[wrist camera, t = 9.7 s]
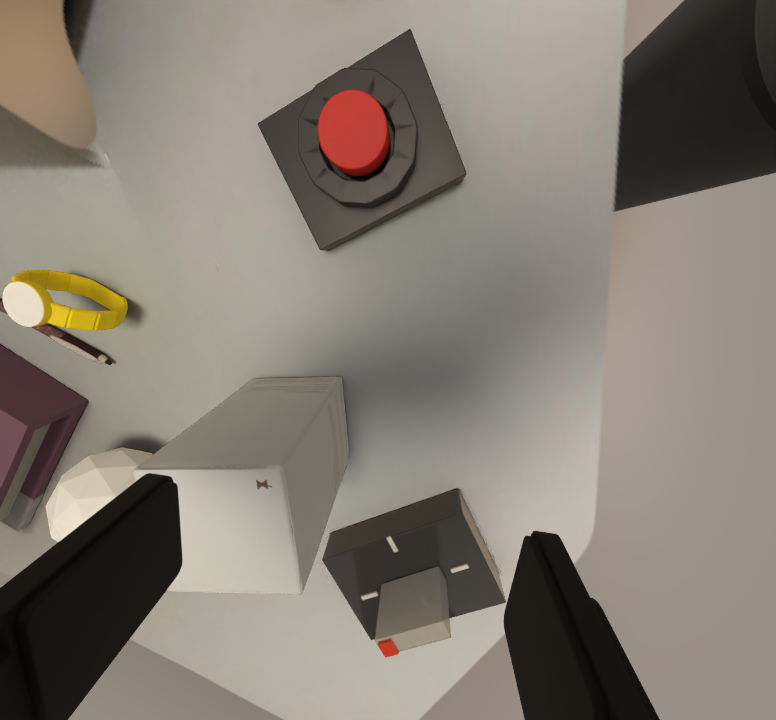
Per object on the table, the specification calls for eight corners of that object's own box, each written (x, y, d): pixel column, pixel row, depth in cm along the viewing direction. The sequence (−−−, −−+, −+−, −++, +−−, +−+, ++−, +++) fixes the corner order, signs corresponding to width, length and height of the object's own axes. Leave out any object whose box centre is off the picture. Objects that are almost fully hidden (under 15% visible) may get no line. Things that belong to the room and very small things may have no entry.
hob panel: (457, 486, 29) (462, 513, 26) (498, 572, 31) (507, 605, 28) (329, 531, 32) (320, 560, 29) (375, 608, 34) (371, 643, 31)
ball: (160, 436, 34) (99, 418, 26) (209, 502, 32) (158, 503, 24) (82, 496, 32) (-8, 495, 24) (129, 571, 30) (47, 595, 22)
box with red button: (438, 565, 28) (442, 625, 23) (446, 579, 28) (451, 641, 24) (381, 583, 29) (374, 644, 24) (389, 597, 29) (383, 660, 25)
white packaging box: (251, 376, 28) (125, 464, 16) (344, 374, 28) (286, 465, 15) (263, 460, 30) (160, 595, 18) (351, 460, 30) (304, 600, 17)
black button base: (411, 50, 22) (409, 5, 18) (462, 181, 23) (471, 166, 19) (271, 135, 24) (242, 111, 20) (328, 251, 25) (312, 249, 21)
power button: (372, 89, 19) (367, 73, 18) (400, 157, 20) (399, 147, 18) (314, 124, 20) (304, 112, 18) (343, 188, 21) (337, 182, 19)
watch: (148, 299, 27) (76, 310, 22) (137, 330, 28) (65, 349, 22) (74, 260, 27) (-19, 260, 21) (66, 293, 28) (-26, 301, 22)
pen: (117, 358, 29) (106, 361, 28) (114, 366, 29) (103, 370, 28) (-17, 288, 28) (-32, 289, 27) (-18, 297, 28) (-34, 298, 27)
